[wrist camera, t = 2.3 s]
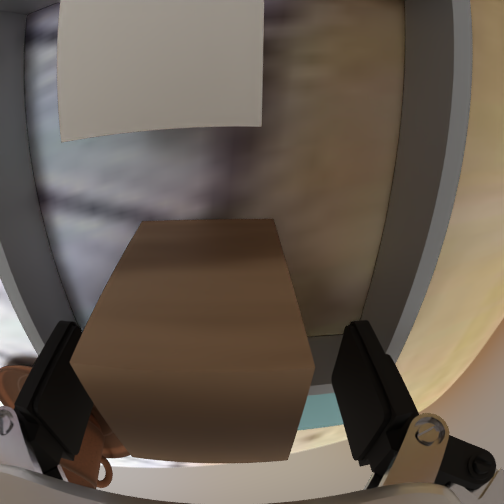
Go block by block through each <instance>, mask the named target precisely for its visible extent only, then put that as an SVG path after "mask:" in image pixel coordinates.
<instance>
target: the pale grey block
mask: <svg viewBox="0 0 504 504" xmlns="http://www.w3.org/2000/svg"><path fill="white" fill-rule="evenodd" d="M263 36H264V0H60V10H59V22H58V39H57V92H58V110H59V123H60V134H61V142H67V141H73V140H78V139H85V138H91V137H98V136H105V135H113V134H121V133H130V132H139V131H150V130H162V129H176V128H195V127H235V126H248V127H262V84H263Z"/></svg>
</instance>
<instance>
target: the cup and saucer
mask: <svg viewBox="0 0 504 504" xmlns="http://www.w3.org/2000/svg"><path fill="white" fill-rule="evenodd" d="M31 369H32V367H29V366H22V365H14V366H5V367H2V368H0V401H1V402H2V403H3V405H4V406H8V407H10V408H12V409H13V410H14V408H15V405H14V403H15V401H16V399H17V397H18V395H19V393H20V391H21V389H22V387H23V385H24V383H25V381H26V379H27V377H28V375H29V373H30V371H31ZM129 455H130V453H129V452H128V451H127V450H126V448H125V447H124V446H123V444H122V443H121V442H120V440H119V439H118V438H117V436H116V435H115V434H114V432H113V431H112V429H111V428H110V427H109V425H108V424H107V422H106V421H105V419H104V418H103V416H102V415H101V414H100V412H99V411H98V409H97V407H96V406H95V404H94V405H93V408H92V411H91V414H90V417H89V420H88V424H87V427H86V430H85V434H84V437H83V441H82V444H81V448H80V451H79V453H78V455H75V457H74V461H71V460H67V459H64V458H61V460H60V465H61V467H62V469H63V472H64V474H65V476H66V478H67V480H68V482H70V483H74V484H77V485H81V486H85V487H89V488H93V489H96V487H99V488H104V487H107V486H108V485H109V484H110V483H111V481H112V476H113V473H112V468H111V465H110V463H109V462H108V460H107V459H106V458H121V457H126V456H129ZM100 463H102V464H103V466H104V467H105V470H106V475H105V478H104V479H103V480H101V481H99V480H98V474H99V468H100Z"/></svg>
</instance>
